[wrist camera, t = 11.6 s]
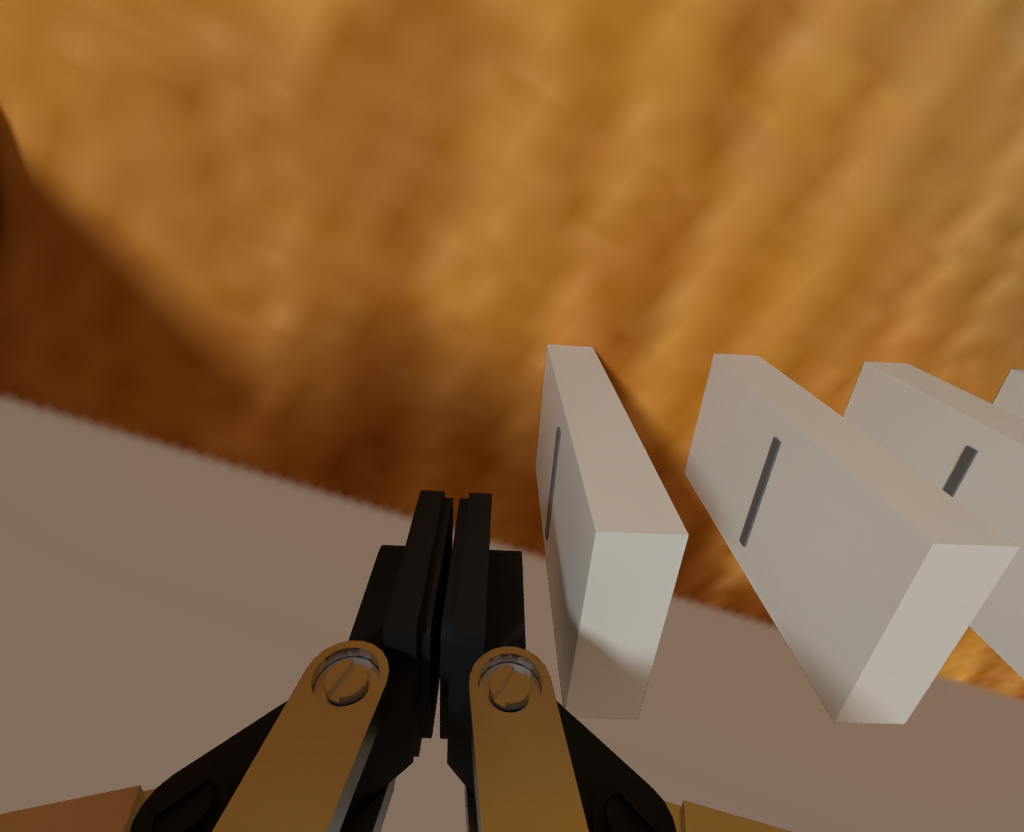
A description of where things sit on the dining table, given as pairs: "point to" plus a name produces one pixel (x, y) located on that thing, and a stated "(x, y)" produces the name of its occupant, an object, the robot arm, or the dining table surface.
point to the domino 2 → (839, 540)
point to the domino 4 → (1012, 394)
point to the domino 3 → (956, 470)
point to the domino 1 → (602, 538)
